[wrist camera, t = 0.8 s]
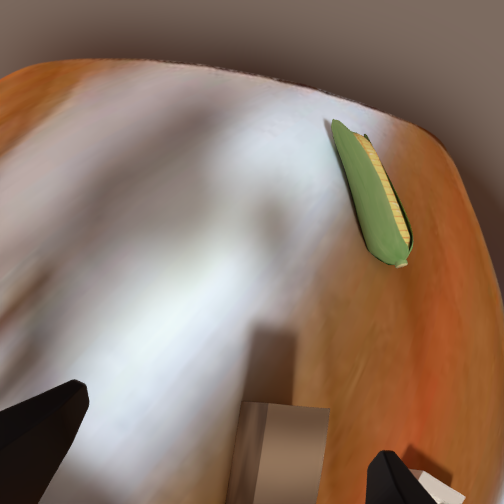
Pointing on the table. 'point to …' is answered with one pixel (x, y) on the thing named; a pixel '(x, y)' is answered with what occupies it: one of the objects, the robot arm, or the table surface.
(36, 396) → the robot arm
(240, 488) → the walnut block
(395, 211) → the edible corn
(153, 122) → the table surface
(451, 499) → the slot tray
